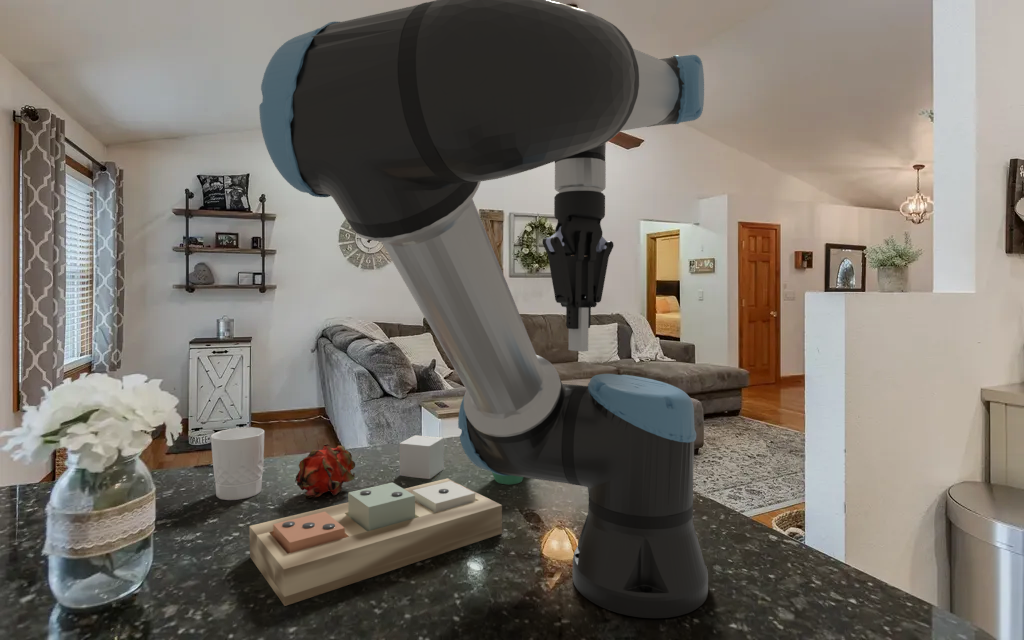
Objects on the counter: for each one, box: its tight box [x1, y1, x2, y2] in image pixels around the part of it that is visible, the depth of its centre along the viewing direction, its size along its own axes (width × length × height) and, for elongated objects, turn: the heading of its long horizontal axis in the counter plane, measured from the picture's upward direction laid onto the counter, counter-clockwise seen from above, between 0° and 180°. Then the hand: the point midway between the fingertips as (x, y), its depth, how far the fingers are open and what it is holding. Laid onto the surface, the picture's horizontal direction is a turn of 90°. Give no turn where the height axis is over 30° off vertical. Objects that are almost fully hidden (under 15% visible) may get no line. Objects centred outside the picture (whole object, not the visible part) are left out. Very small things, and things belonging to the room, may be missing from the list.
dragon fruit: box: [294, 443, 356, 499], centre depth 93 cm, size 8×8×12 cm
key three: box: [273, 512, 345, 554], centre depth 69 cm, size 6×6×4 cm
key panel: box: [249, 477, 503, 607], centre depth 75 cm, size 14×29×4 cm, turn 128°
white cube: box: [398, 434, 445, 480], centre depth 104 cm, size 6×6×6 cm
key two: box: [347, 482, 415, 531], centre depth 75 cm, size 6×6×4 cm
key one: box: [413, 480, 475, 512], centre depth 81 cm, size 6×6×4 cm
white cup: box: [210, 426, 265, 501], centre depth 93 cm, size 8×8×10 cm
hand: (578, 350), depth 86 cm, fingers closed
